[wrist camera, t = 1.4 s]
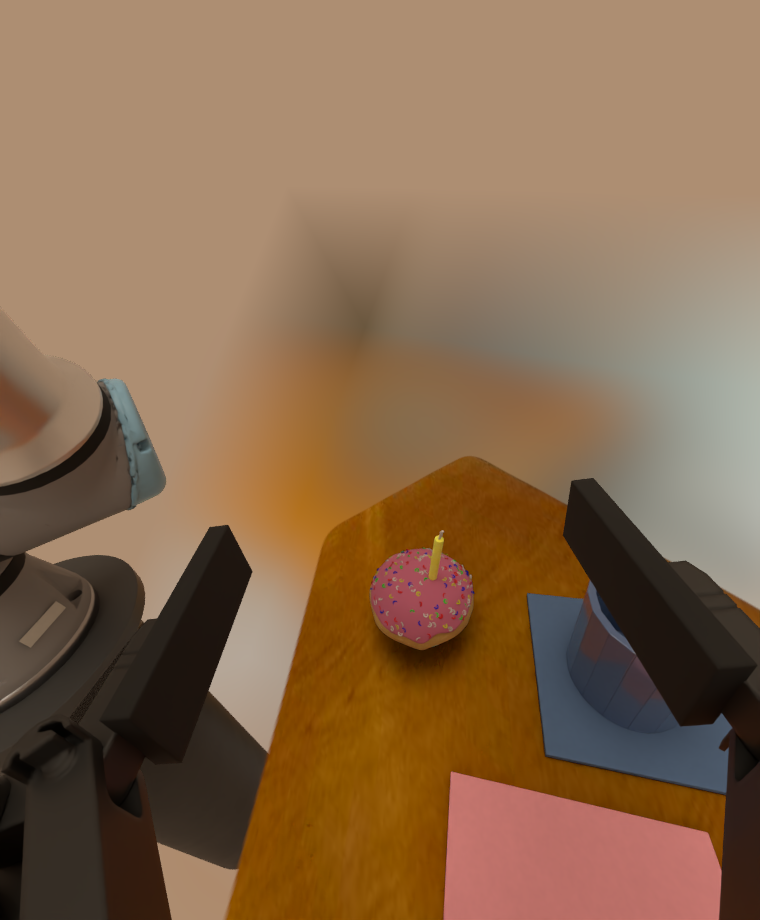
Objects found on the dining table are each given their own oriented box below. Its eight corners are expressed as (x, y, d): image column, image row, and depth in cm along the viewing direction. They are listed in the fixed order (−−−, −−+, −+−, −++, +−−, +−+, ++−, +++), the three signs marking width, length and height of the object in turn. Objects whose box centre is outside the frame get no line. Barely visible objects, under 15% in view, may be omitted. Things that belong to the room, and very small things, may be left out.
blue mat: (545, 756, 24) (545, 754, 23) (526, 595, 33) (527, 592, 33) (772, 805, 20) (775, 803, 20) (680, 612, 30) (682, 609, 30)
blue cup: (576, 723, 25) (606, 660, 20) (558, 622, 31) (577, 553, 25) (704, 747, 23) (774, 685, 18) (659, 634, 29) (702, 563, 23)
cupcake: (468, 582, 35) (469, 489, 28) (478, 676, 28) (483, 584, 21) (381, 581, 36) (361, 492, 29) (371, 671, 29) (342, 582, 22)
